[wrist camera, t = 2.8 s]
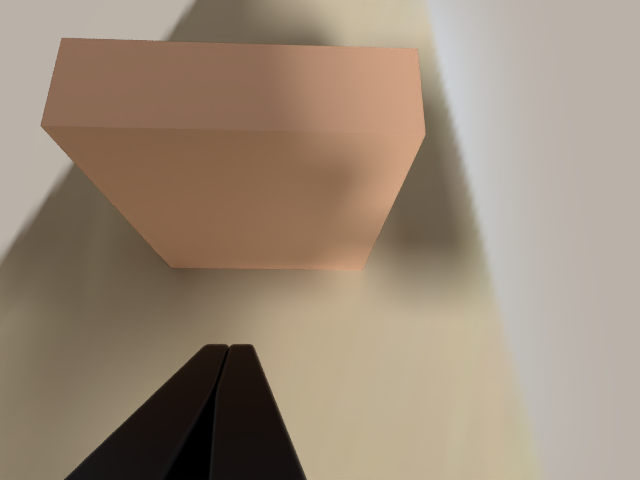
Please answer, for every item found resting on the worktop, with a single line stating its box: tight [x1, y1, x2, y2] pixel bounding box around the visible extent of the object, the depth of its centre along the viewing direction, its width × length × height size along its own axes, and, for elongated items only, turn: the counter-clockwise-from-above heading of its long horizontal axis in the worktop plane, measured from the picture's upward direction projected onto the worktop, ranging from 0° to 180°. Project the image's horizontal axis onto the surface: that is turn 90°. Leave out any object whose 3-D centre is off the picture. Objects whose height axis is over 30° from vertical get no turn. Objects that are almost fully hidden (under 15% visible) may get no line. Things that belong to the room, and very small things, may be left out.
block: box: [41, 38, 426, 270], centre depth 13 cm, size 2×7×9 cm, turn 90°
